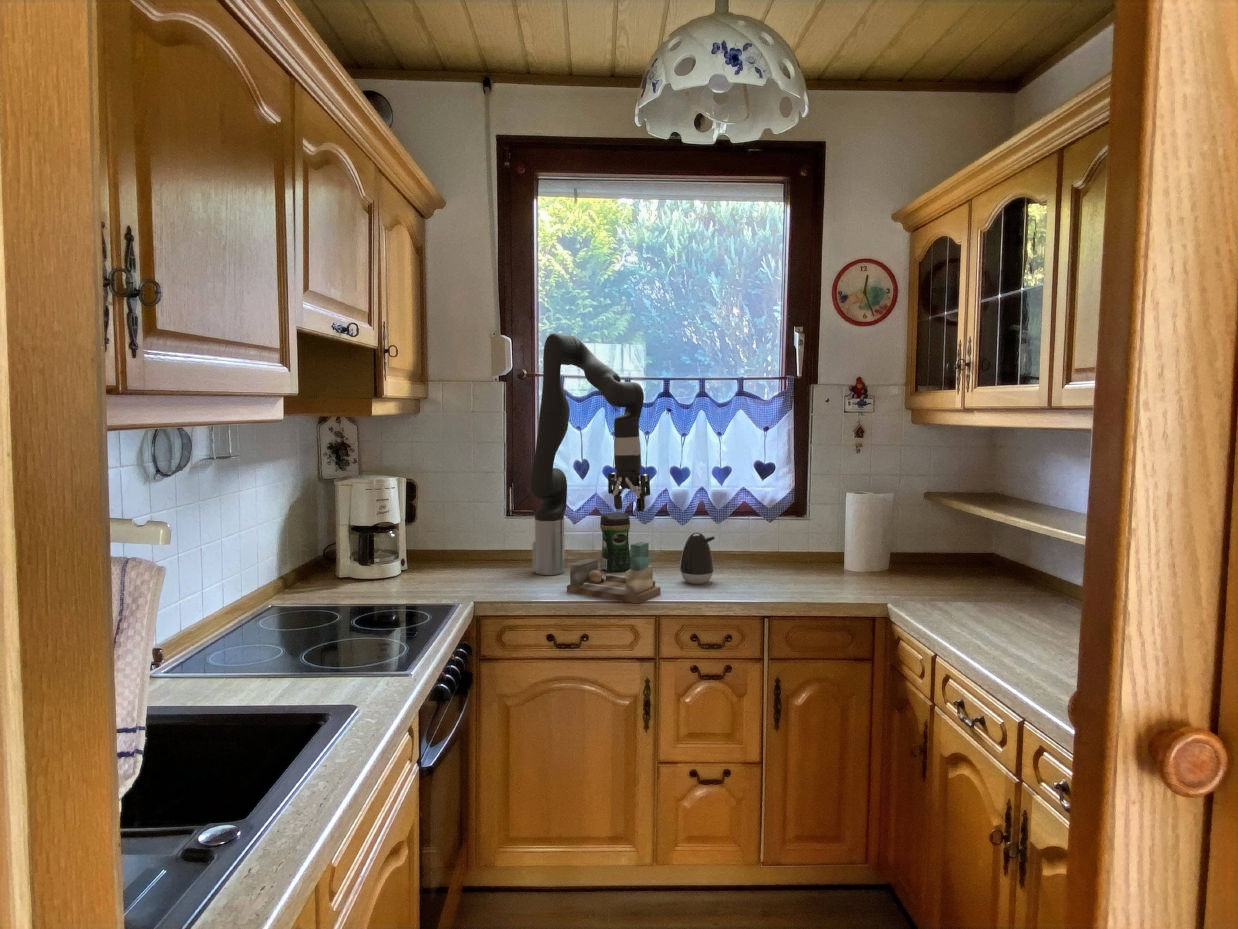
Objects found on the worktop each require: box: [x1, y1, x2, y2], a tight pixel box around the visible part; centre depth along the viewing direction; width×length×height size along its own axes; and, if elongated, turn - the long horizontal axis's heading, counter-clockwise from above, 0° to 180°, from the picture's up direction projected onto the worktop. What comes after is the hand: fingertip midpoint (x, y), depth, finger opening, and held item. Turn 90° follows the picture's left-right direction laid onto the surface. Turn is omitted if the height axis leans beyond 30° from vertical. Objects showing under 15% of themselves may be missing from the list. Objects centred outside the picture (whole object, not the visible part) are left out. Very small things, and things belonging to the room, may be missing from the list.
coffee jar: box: [599, 512, 631, 573], centre depth 250 cm, size 10×8×19 cm
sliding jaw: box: [625, 541, 654, 594], centre depth 215 cm, size 3×10×13 cm, turn 149°
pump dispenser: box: [679, 532, 715, 585], centre depth 233 cm, size 10×10×15 cm
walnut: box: [588, 569, 603, 584], centre depth 223 cm, size 4×4×4 cm
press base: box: [566, 557, 662, 605], centre depth 220 cm, size 24×13×8 cm, turn 59°
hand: (629, 510), depth 219 cm, fingers open, 8 cm apart
